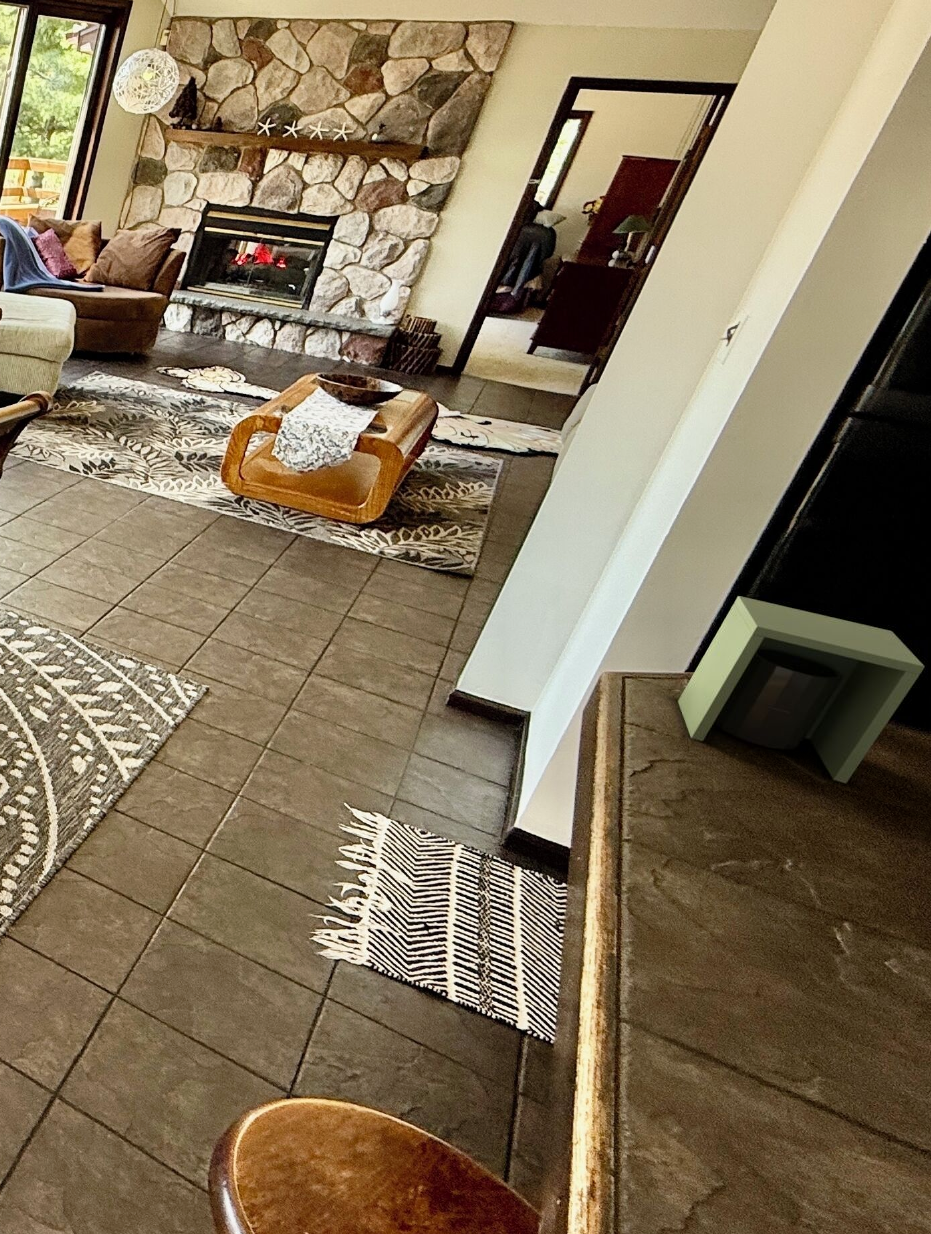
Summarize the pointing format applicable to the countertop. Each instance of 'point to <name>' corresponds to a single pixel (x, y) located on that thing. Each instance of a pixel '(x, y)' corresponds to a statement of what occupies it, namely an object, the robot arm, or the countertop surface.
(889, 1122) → the countertop surface
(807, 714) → the black cylinder
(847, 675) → the u-shaped block
